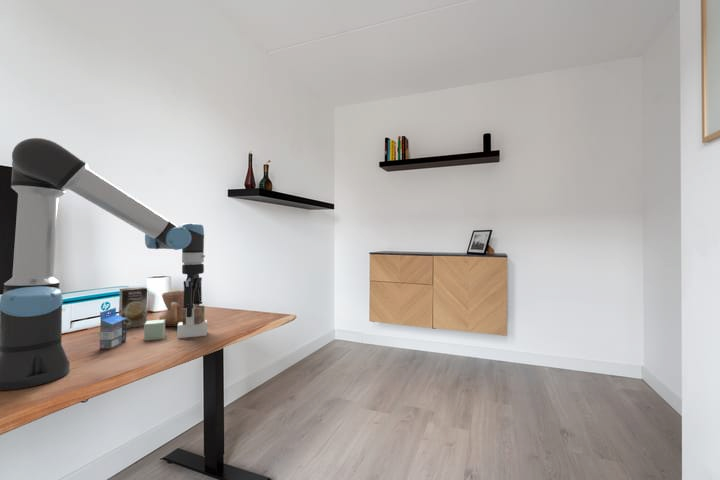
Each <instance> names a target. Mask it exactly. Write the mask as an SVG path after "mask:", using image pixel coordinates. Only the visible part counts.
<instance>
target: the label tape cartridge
mask: <svg viewBox="0 0 720 480" xmlns="http://www.w3.org/2000/svg"><path fill="white" fill-rule="evenodd" d="M116 310H117V308H116V307H113V308H110V309H108V310H107V309H106V310H103V311H101V312H99V315H100V317H99V318H100V326H99V328H100V330H99V349H100V350H110V349H111V350H112V349H114V348H115V347H118V346H120V345H121V344H123V343H125V342H127V328H126V318H123V317H121V316H119V314H117V311H116Z"/></svg>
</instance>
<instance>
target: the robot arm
mask: <svg viewBox="0 0 720 480" xmlns="http://www.w3.org/2000/svg"><path fill="white" fill-rule="evenodd" d="M11 159H12V160H11V161H12V162H11V181H10V182H11V184H10V188H11V189H12V190H13V191H15V193H17V204H16V205H17V206H16V208H17V209H16V221H15V223H16V224H15V232H14V233H15V234H14V235H15V236H14V249H13V265H12V275H11V276H12V277H11V278H10V279H9V280H7V281H5V282H4V283H3V293H2V294H1V296H0V391H14V390H19V389H21V390H22V389H26V388H30V387H31V388H32V387H36V386H40V385H43V384H47V383H49V382H53V381H56V380H58V379H60V378H63V377H64V376H66V375H68V374H69V372H70V371H71V370H70V368H71V367H70V361H69V359H68V356H67V354H66V352H65V349H64V347H63V344H62V337H63V336H62V335H63V333H62V332H63V331H62V330H63V329H62V328H63V327H62V326H63V324H62V323H63V322H62V321H63V318H62V317H63V315H62V313H63V302H64V298H63V295H62V294H63V293H62V291H61V289H60V283H61V282H60V280H58V279H57V278H55V277H54V273H55V271H54V270H55V257H56V241H57V240H56V238H57V225H58V211H59V209H58V208H59V199H60V198H61V197H62V196H63V195H65V194H66V190H68V191H69V190H70V191H71V192H73V193H74V194H76V195H78V196H80V197H82V198H83V199H85V200H86V201H89V202H90V203H92V204H93V205H95V206H97V207H99V208H101V209H102V210H104V211H106V212H107V213H109V214H111V215H112V216H113V217H114V216H115V217H116V218H118V219H119V220H122V221H123V222H125V223H126V224H128V225H130V226H131V227H133V228H135V229H137V230H138V231H140V232H142V233H143V234H144V244H145V246H146V248H147V249H153V250H161V249H163V250H174V251H175V250H176V251H177V250H181V251H182V253H181V264H182V263H183V264H182V266H181V272H182V274H183V275H186V279H185V280H184V281H183V291H184V307H183V309H186V326H191V325H194V308H193V306H201V305H202V304H203V298H202V280H203V277H200V275H201V274H203V273H205V264H203V263H204V261H205V260H204V259H205V258H206V255H205V254H204V253H205V251H204V250H205V246H204V245H205V231H204V230H205V227H204V226H203V224H201V223H183V224H182V226H179V225H177V224H175V223H174V222H172V221H170V220H169V219H167V218H166V217H164V216H163V215H161V214H159V213H158V212H157V211H155V210H153V209H152V208H150V207H149V206H147V205H145V204H144V203H143V202H141V201H140V200H138V199H135V197H133V196H131V195H130V194H128V193H127V192H125V191H123V190H122V189H120V188H119V187H117V186H116V185H114V184H112V183H111V182H110V181H108V180H107V179H105V178H104V177H102V176H100V175H99V174H97V173H96V172H94V171H92V170H91V169H90V168H89V166H88V165H89V164H88V163H87V162H85V161H84V160H82V159H80V158H79V157H78V156H76V155H75V154H73V153H72V152H70V151H69V150H68V149H66V148H65V147H63V146H62V145H60V144H58V143H57V142H55V141H52V140H50V139H46V138H42V137H41V138H39V137H34V138H33V137H31V138H26V139H25V140H22V141H20V142H18V143H17V144H15V146H14V148H13V150H12V152H11Z"/></svg>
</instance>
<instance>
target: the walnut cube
mask: <svg viewBox="0 0 720 480" xmlns="http://www.w3.org/2000/svg"><path fill="white" fill-rule="evenodd" d="M193 308H194V324H200V323H202V322H203V321H204V320H205V305H200V306H193ZM183 325H186V309H183Z"/></svg>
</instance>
